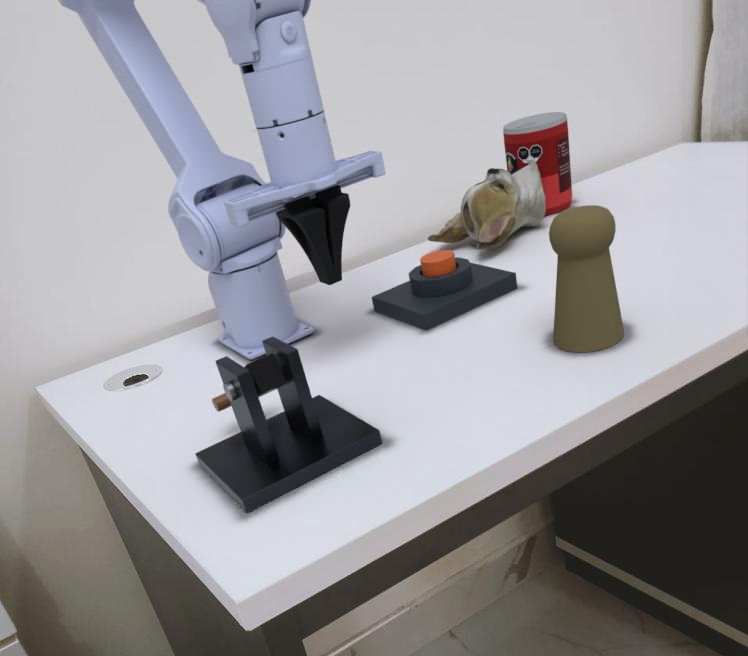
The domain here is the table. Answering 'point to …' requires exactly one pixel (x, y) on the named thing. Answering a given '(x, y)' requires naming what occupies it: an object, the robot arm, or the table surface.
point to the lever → (258, 379)
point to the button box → (443, 294)
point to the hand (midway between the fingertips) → (331, 281)
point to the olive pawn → (585, 280)
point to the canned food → (542, 154)
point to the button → (438, 263)
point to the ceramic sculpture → (497, 208)
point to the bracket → (281, 434)
